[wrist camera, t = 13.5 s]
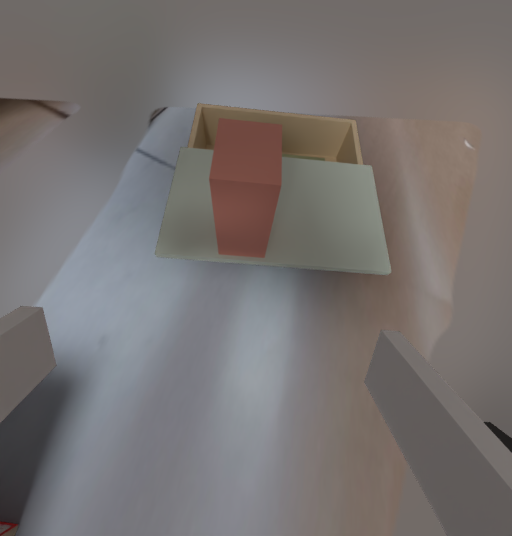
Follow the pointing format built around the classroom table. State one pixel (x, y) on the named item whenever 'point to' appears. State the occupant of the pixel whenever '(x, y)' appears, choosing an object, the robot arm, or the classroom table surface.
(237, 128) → the lid
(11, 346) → the robot arm
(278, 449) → the classroom table surface
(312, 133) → the carton
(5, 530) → the stack of blocks
